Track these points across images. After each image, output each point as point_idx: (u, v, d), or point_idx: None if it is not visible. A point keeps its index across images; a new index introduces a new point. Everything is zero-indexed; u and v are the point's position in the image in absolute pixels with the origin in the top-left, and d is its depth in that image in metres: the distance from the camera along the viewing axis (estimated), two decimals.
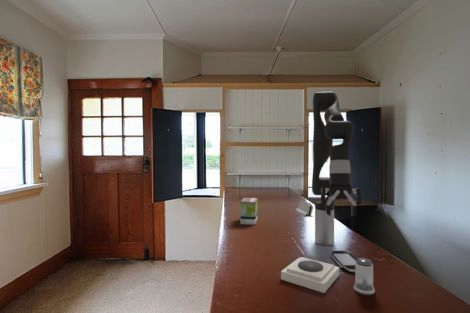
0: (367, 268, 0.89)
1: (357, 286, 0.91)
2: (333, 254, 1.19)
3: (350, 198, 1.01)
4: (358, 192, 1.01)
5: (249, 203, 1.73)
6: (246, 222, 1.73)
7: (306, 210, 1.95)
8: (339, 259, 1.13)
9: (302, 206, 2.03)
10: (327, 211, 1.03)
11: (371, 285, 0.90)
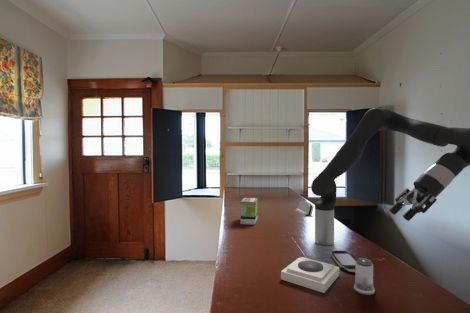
0: (367, 268, 0.89)
1: (357, 286, 0.91)
2: (333, 254, 1.19)
3: None
4: None
5: (249, 203, 1.73)
6: (246, 222, 1.73)
7: (306, 210, 1.95)
8: (339, 259, 1.13)
9: (302, 206, 2.03)
10: None
11: (371, 285, 0.90)
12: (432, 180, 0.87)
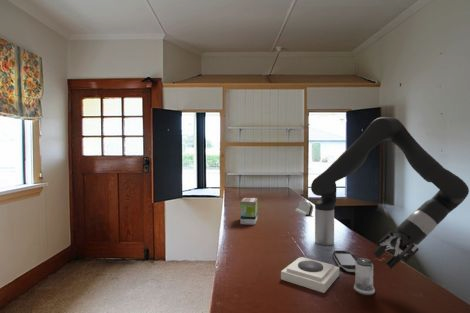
0: (367, 268, 0.89)
1: (357, 286, 0.91)
2: (335, 254, 1.19)
3: None
4: None
5: (249, 203, 1.73)
6: (246, 222, 1.73)
7: (306, 210, 1.95)
8: (338, 259, 1.14)
9: (302, 206, 2.03)
10: None
11: (371, 285, 0.90)
12: (415, 228, 0.88)
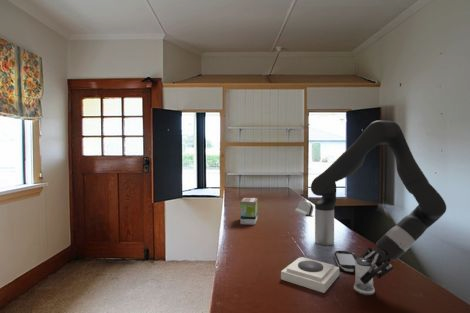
0: (367, 268, 0.89)
1: (357, 286, 0.91)
2: (336, 253, 1.20)
3: None
4: None
5: (249, 203, 1.73)
6: (246, 222, 1.73)
7: (307, 210, 1.95)
8: (338, 259, 1.14)
9: (302, 206, 2.03)
10: None
11: (371, 285, 0.90)
12: (392, 244, 0.88)
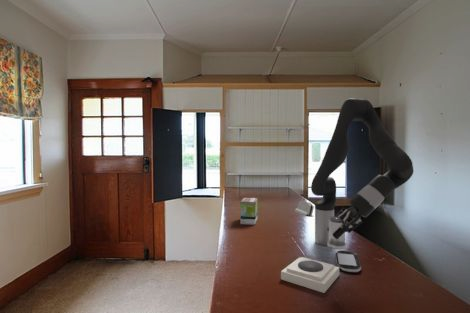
0: (339, 224, 0.94)
1: (330, 242, 0.96)
2: (337, 253, 1.20)
3: None
4: None
5: (249, 203, 1.73)
6: (246, 222, 1.73)
7: (307, 210, 1.96)
8: (339, 258, 1.14)
9: (302, 206, 2.03)
10: None
11: (343, 240, 0.94)
12: (363, 201, 0.93)
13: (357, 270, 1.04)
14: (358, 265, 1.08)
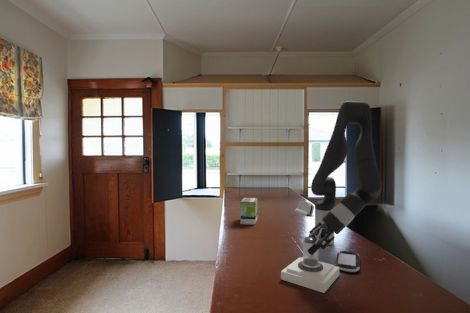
0: None
1: (304, 262, 1.01)
2: (339, 253, 1.20)
3: None
4: None
5: (249, 203, 1.73)
6: (246, 222, 1.73)
7: (307, 210, 1.96)
8: (339, 258, 1.14)
9: (302, 206, 2.03)
10: None
11: (316, 260, 0.99)
12: (334, 219, 0.97)
13: (355, 270, 1.04)
14: (357, 265, 1.07)
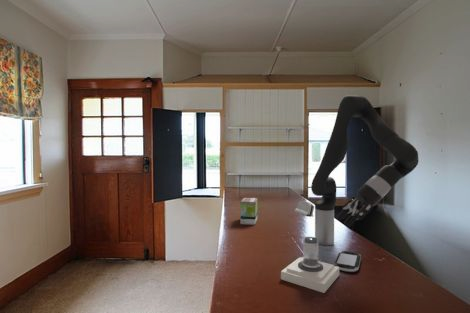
0: (312, 245, 0.99)
1: (304, 262, 1.01)
2: (340, 253, 1.20)
3: None
4: None
5: (249, 203, 1.73)
6: (246, 222, 1.73)
7: (307, 210, 1.96)
8: (339, 258, 1.15)
9: (302, 206, 2.03)
10: (351, 223, 0.96)
11: (316, 260, 0.99)
12: (370, 190, 0.97)
13: (353, 270, 1.04)
14: (356, 265, 1.07)
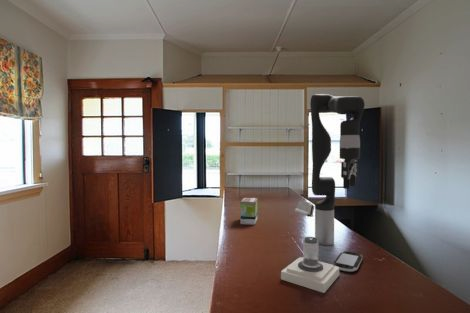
0: (312, 245, 0.99)
1: (304, 262, 1.01)
2: (342, 253, 1.20)
3: (356, 170, 1.11)
4: (356, 164, 1.13)
5: (249, 203, 1.73)
6: (246, 222, 1.73)
7: (308, 210, 1.96)
8: (339, 258, 1.15)
9: (302, 206, 2.03)
10: (347, 185, 1.05)
11: (316, 260, 0.99)
12: (342, 150, 1.08)
13: (351, 270, 1.04)
14: (355, 265, 1.07)
